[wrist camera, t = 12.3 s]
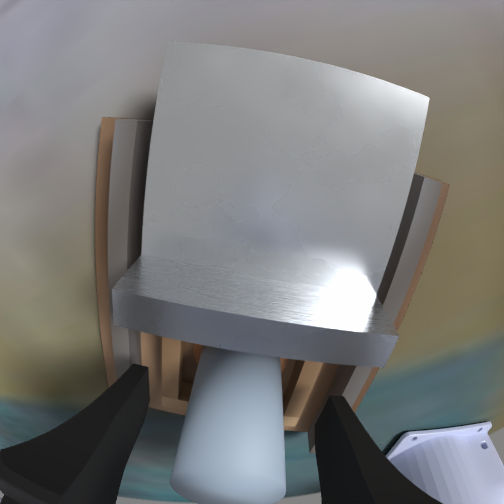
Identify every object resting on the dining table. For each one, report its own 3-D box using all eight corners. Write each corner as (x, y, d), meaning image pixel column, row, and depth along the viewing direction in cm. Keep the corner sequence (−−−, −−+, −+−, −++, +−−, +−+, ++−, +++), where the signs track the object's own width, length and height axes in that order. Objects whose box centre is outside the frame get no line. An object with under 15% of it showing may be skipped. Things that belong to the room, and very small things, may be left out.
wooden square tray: (443, 181, 12) (470, 193, 10) (340, 425, 17) (345, 453, 15) (108, 117, 11) (81, 117, 9) (113, 389, 17) (100, 415, 15)
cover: (421, 98, 8) (472, 94, 6) (360, 314, 11) (383, 367, 9) (172, 46, 8) (138, 19, 5) (146, 278, 11) (113, 325, 8)
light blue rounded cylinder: (289, 333, 14) (301, 474, 7) (269, 387, 15) (269, 514, 9) (207, 316, 14) (171, 455, 7) (197, 374, 15) (169, 499, 8)
